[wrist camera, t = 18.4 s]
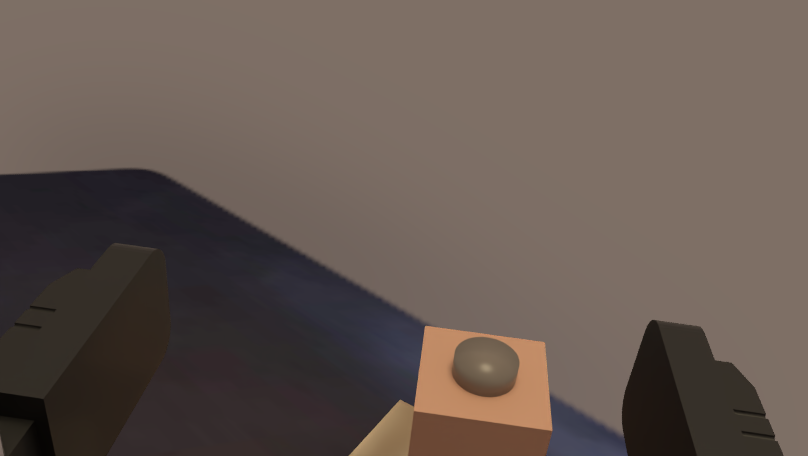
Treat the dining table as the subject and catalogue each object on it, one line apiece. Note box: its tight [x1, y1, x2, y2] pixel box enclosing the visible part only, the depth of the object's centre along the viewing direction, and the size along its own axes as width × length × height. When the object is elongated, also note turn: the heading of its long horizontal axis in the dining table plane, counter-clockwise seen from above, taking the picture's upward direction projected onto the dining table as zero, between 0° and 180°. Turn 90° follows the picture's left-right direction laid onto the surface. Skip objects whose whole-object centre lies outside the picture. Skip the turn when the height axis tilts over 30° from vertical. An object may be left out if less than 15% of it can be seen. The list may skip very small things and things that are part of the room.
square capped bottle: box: [408, 326, 552, 456], centre depth 37 cm, size 6×6×11 cm
